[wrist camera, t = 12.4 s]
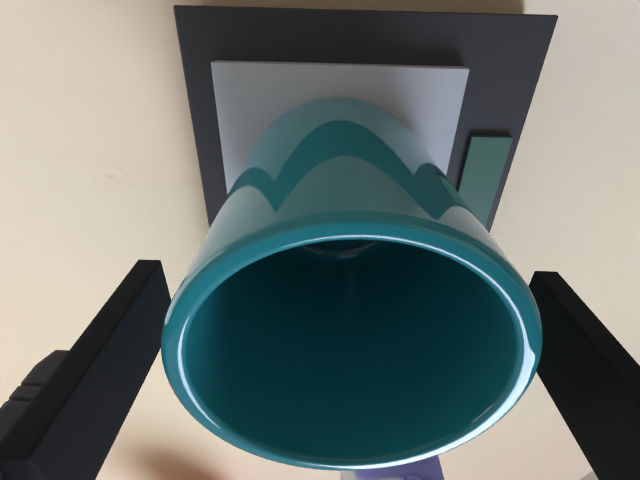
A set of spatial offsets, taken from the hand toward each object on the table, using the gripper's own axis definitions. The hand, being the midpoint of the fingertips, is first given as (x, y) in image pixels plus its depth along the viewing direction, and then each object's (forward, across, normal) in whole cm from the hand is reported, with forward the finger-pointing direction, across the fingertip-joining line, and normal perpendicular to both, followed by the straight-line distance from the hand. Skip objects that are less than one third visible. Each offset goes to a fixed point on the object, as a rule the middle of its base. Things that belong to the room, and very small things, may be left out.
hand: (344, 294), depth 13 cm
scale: (+11, +1, 0) cm, 11 cm away
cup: (+7, 0, 0) cm, 7 cm away
